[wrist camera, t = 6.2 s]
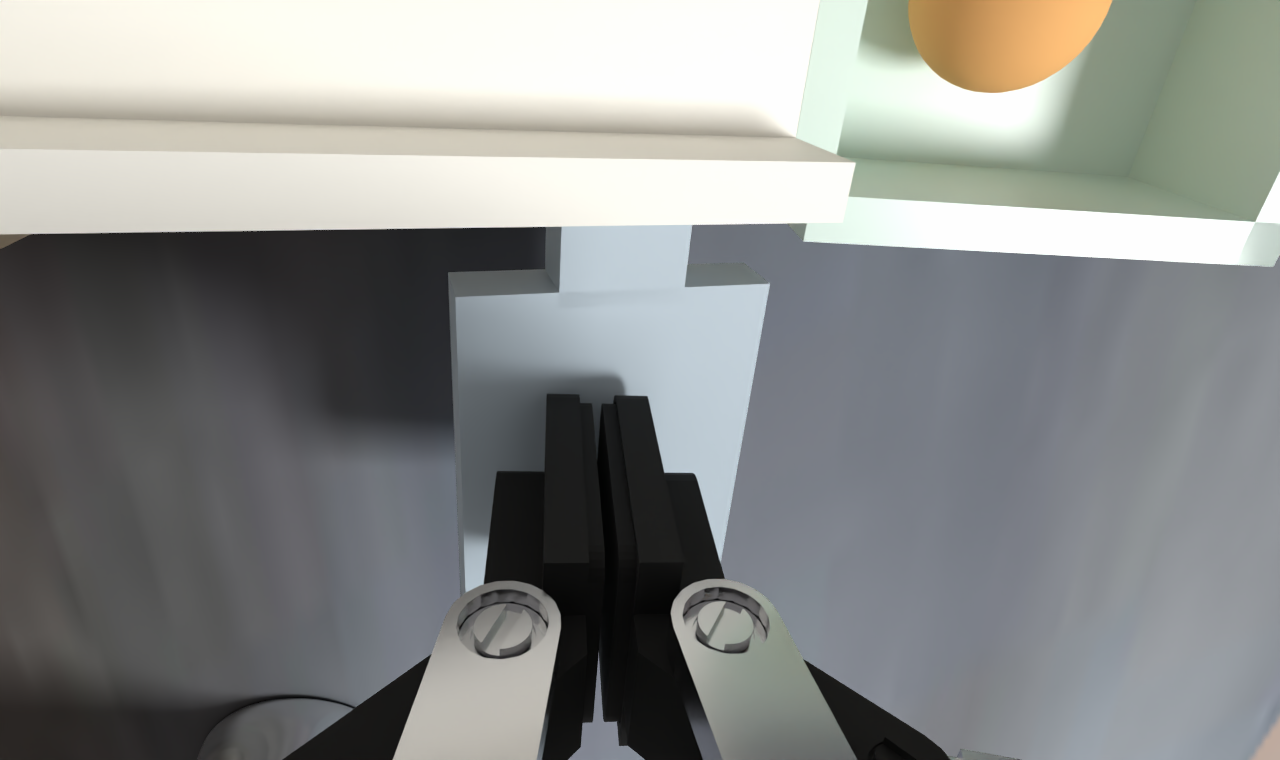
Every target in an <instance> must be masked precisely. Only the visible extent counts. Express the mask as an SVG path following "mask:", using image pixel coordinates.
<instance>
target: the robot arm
mask: <svg viewBox="0 0 1280 760" xmlns="http://www.w3.org/2000/svg"><path fill="white" fill-rule="evenodd" d="M598 652H599V661H600V676H601V692H602V707H603V719H604V722H614V721H617V726H618V738H619V746H629V747H630V748H632V749H633V750H634V751H635V752H637V753H638V754H639V755H640V756H641V757H643V758H644V759H645V760H1020V759H1015V758H1009V757H1004V756H998V755H992V754H987V753H981V752H976V751H970V750H965V749H960V751H959V753H958V756H957V757H952V756H947V755H946V754H945V752H944V751H943V750H942V749H941V748H940V747H939V746H937V745H936V744H935V743H934V742H932V741H931V740H930V739H928V738H927V737H926V736H925V735H923V734H921V733H920V732H918V731H917V730H915V729H914V728H912V727H910V726H909V725H907V724H906V723H904V722H902V721H901V720H899V719H898V718H896V717H894V716H893V715H891V714H890V713H888V712H887V711H885V710H883V709H882V708H880V707H879V706H877V705H875V704H874V703H872V702H871V701H869V700H867V699H866V698H864V697H863V696H861V695H859V694H858V693H856V692H855V691H853V690H852V689H850V688H848V687H847V686H845V685H844V684H842V683H840V682H839V681H837V680H836V679H834V678H832V677H831V676H829V675H828V674H826V673H825V672H823V671H821V670H820V669H818V668H817V667H815V666H813V665H812V664H810V663H809V662H807V661H805V660H804V659H803V658H802V656H801V654H800V653H799V651H798V649H797V647H796V645H795V643H794V641H793V640H792V638H791V636H790V634H789V632H788V630H787V628H786V627H785V625H784V623H783V621H782V619H781V617H780V615H779V614H778V612H777V610H776V609H775V608H774V606H773V605H772V604H771V602H770V601H769V600H768V599H767V598H766V597H764V596H763V595H762V594H761V593H759V592H758V591H757V590H755V589H753V588H751V587H749V586H747V585H745V584H742V583H740V582H735V581H731V580H726V579H725V578H724V574H723V571H722V567H721V563H720V560H719V556H718V553H717V549H716V545H715V542H714V538H713V535H712V531H711V527H710V524H709V520H708V517H707V513H706V509H705V506H704V502H703V499H702V495H701V491H700V488H699V484H698V481H697V478H696V476H695V474H694V473H664V469H663V464H662V459H661V455H660V450H659V446H658V441H657V436H656V432H655V427H654V422H653V418H652V413H651V409H650V404H649V399H648V396H629V395H615V396H614V400H613V404H605V403H602V405H601V414H600V429H599V443H598V458H597V454H596V442H595V431H594V419H593V407H592V403H580V396H579V394H547V397H546V432H545V468H544V471H497V473H496V480H495V488H494V497H493V506H492V515H491V523H490V532H489V541H488V549H487V558H486V567H485V576H484V584H483V585H480V586H478V587H476V588H474V589H472V590H470V591H468V592H466V593H464V594H463V595H462V596H461V597H460V598H459V599H458V600H457V601H455V602H454V603H453V605H452V606H451V608H450V610H449V611H448V613H447V615H446V617H445V619H444V622H443V625H442V627H441V630H440V633H439V635H438V638H437V641H436V644H435V646H434V649H433V652H432V654H431V655H430V656H428V657H427V658H425V659H424V660H422V661H421V662H420V663H418V664H417V665H415V666H414V667H413V668H411V669H410V670H408V671H407V672H405V673H404V674H403V675H401V676H400V677H398V678H397V679H396V680H394V681H393V682H391V683H390V684H389V685H387V686H386V687H384V688H383V689H381V690H380V691H379V692H377V693H376V694H374V695H373V696H372V697H370V698H369V699H367V700H366V701H364V702H363V703H362V704H360V705H359V706H357V707H356V708H355V709H353V710H352V711H350V712H349V713H347V714H346V715H345V716H343V717H342V718H340V719H339V720H338V721H336V722H335V723H333V724H332V725H330V726H329V727H328V728H326V729H325V730H323V731H322V732H321V733H319V734H318V735H316V736H315V737H313V738H312V739H311V740H309V741H308V742H306V743H305V744H304V745H302V746H301V747H299V748H298V749H297V750H295V751H294V752H292V753H291V754H289V755H288V756H287V757H285V758H284V759H282V760H568V759H569V758H570V757H571V756H572V755H573V754H574V753H575V752H576V751H577V750H578V749H579V748H580V747H581V735H582V723H585V722H592V721H593V713H594V700H595V688H596V676H597V664H598Z"/></svg>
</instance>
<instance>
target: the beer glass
mask: <svg viewBox="0 0 1280 760" xmlns="http://www.w3.org/2000/svg"><path fill="white" fill-rule="evenodd" d="M353 709H354V708H351V707H348V706H346V705H342V704H339V703H335V702H331V701H325V700H319V699H310V698H285V699H276V700H269V701H264V702H260V703H257V704H253V705H250V706H248V707H245V708H242V709H240V710H238V711H236V712H234V713H232V714H230V715H229V716H227V717H226V718H224V719H223V720H222V721H220V722H219V723H218V724H217V725H216V726H215V727H214V728H213V729H212V731H211V732H210V733H209V735H208V736H207V737H206V739H205V741H204V743H203V745H202V748H201V750H200V753H199V756H198V759H197V760H282V759H284V758H285V757H287V756H288V755H289V754H291V753H292V752H294V751H295V750H297V749H298V748H299V747H301V746H302V745H304V744H305V743H306V742H308V741H309V740H311V739H312V738H313V737H315V736H316V735H318V734H319V733H321V732H322V731H323V730H325V729H326V728H328V727H329V726H330V725H332V724H333V723H335V722H336V721H338V720H339V719H340V718H342V717H343V716H345V715H346V714H347V713H349V712H350V711H352V710H353Z"/></svg>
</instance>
